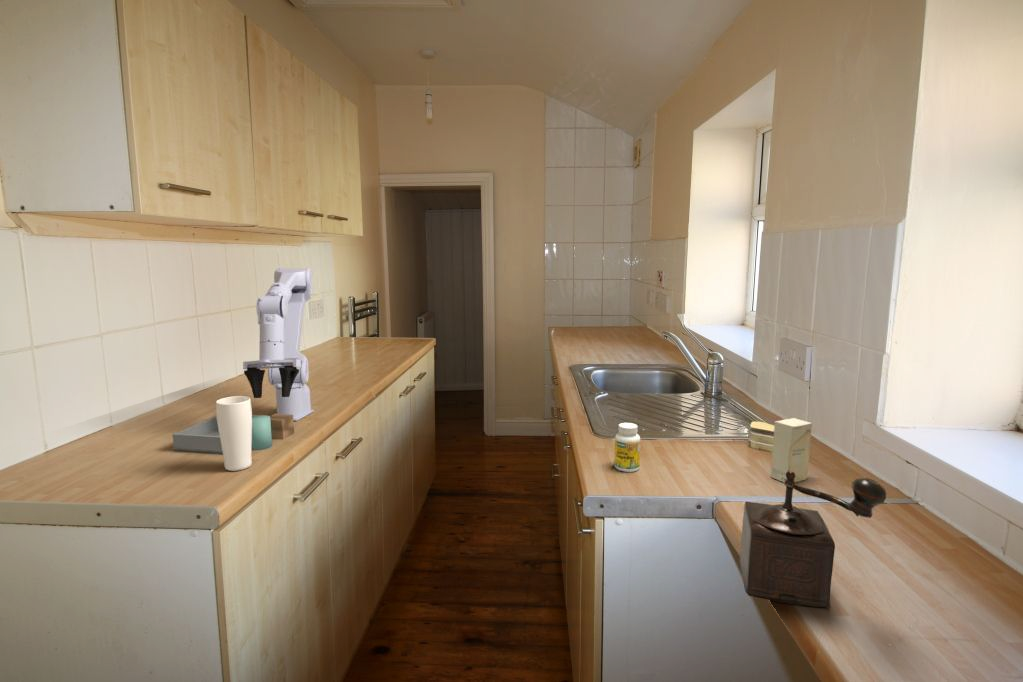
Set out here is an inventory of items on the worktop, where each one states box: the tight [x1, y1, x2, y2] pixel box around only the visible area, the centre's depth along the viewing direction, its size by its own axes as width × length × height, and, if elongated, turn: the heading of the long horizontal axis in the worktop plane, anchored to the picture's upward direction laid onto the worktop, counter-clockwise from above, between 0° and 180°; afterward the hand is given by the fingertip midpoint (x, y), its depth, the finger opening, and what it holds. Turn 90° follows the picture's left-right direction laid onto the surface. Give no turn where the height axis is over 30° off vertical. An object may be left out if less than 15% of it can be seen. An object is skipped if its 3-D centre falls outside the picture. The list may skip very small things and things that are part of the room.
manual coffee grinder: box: [739, 471, 887, 608], centre depth 76 cm, size 16×11×18 cm
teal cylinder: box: [252, 414, 273, 451], centre depth 131 cm, size 5×5×7 cm
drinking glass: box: [215, 395, 253, 472], centre depth 118 cm, size 7×7×15 cm
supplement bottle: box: [614, 422, 641, 473], centre depth 119 cm, size 5×5×10 cm
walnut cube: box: [269, 413, 295, 441], centre depth 139 cm, size 5×5×5 cm
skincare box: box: [770, 417, 813, 483], centre depth 114 cm, size 6×4×12 cm
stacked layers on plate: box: [748, 421, 775, 453], centre depth 133 cm, size 10×9×6 cm
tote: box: [172, 414, 261, 455], centre depth 136 cm, size 17×13×4 cm
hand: (271, 397), depth 137 cm, fingers open, 7 cm apart
